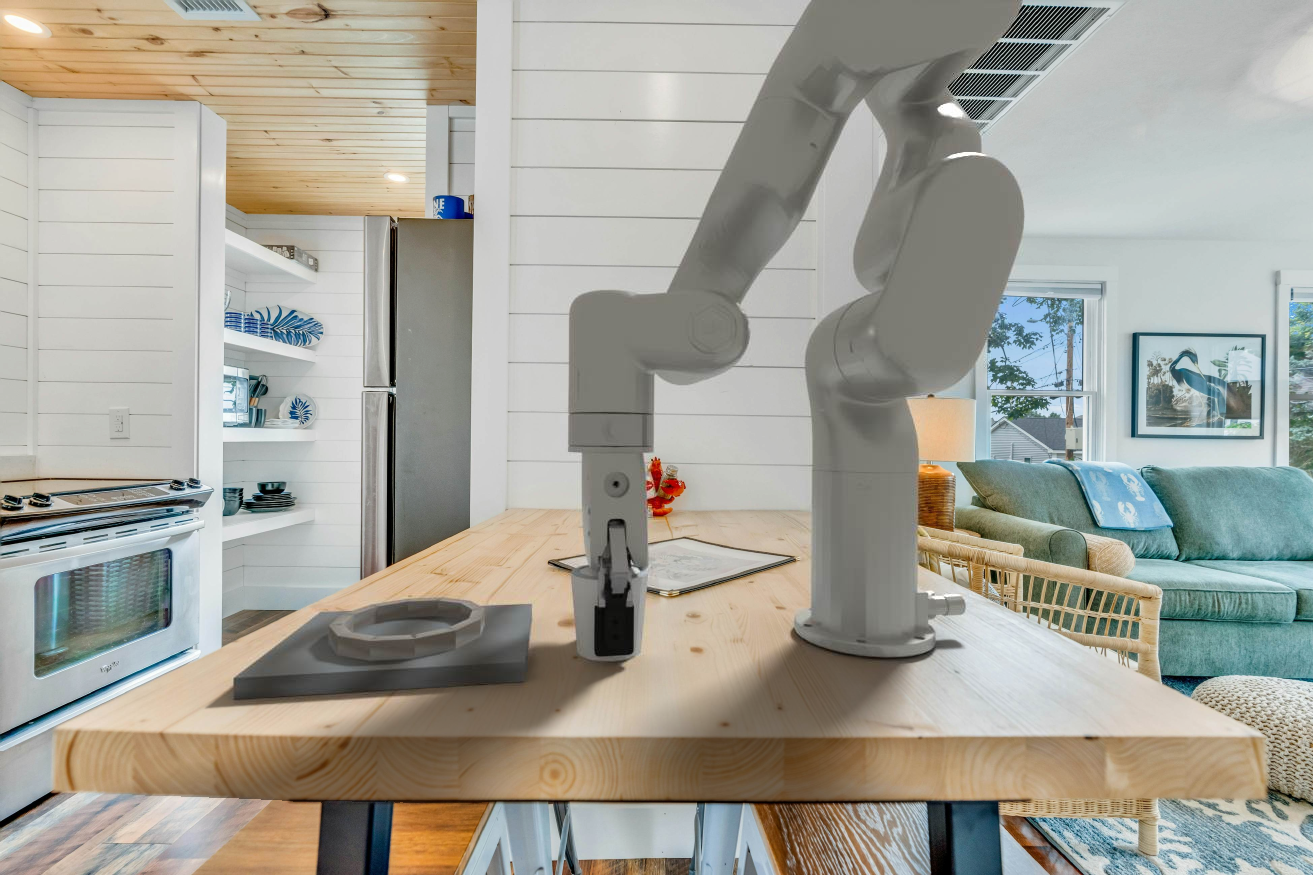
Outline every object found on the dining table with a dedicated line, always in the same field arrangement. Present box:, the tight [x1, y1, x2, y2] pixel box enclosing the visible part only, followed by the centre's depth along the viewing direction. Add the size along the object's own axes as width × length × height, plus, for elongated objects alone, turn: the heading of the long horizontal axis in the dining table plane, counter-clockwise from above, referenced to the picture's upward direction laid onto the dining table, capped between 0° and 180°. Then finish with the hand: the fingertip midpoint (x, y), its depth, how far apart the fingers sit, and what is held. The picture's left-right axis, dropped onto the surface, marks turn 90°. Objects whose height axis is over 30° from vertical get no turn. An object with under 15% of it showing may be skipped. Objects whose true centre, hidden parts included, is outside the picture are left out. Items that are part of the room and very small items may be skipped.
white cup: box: [570, 563, 649, 662], centre depth 52 cm, size 7×7×7 cm
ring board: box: [232, 596, 533, 700], centre depth 52 cm, size 20×16×3 cm
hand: (609, 637), depth 52 cm, fingers open, 6 cm apart
